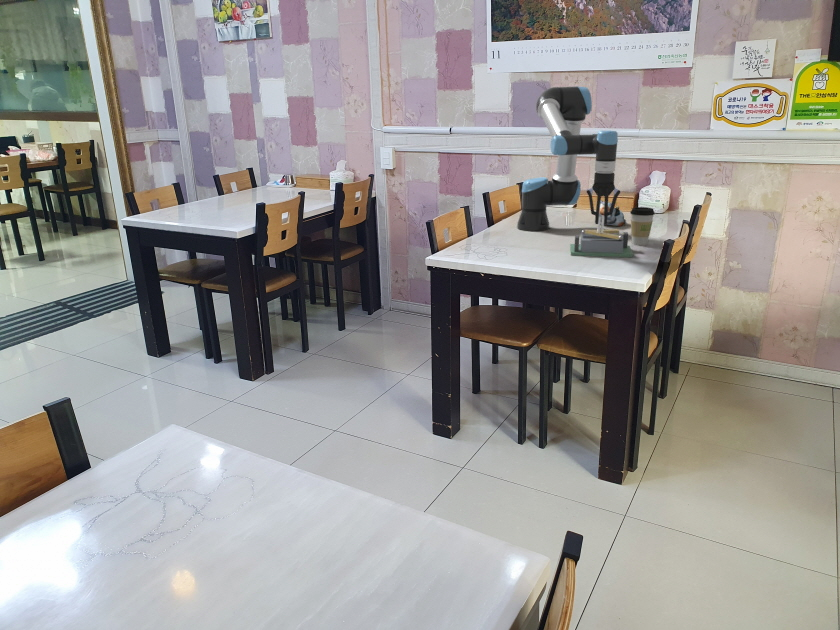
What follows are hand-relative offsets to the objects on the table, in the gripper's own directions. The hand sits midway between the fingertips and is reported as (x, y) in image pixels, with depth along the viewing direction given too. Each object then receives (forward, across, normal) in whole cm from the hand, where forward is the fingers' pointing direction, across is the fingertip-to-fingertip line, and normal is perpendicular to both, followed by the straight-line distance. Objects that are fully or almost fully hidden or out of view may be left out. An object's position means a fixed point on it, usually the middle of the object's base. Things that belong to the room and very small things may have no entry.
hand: (600, 232), depth 260 cm
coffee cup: (+9, +18, +21) cm, 29 cm away
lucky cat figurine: (+9, +9, +61) cm, 62 cm away
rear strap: (+2, +1, +9) cm, 9 cm away
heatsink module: (+9, +1, +5) cm, 10 cm away
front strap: (+2, +1, 0) cm, 2 cm away
